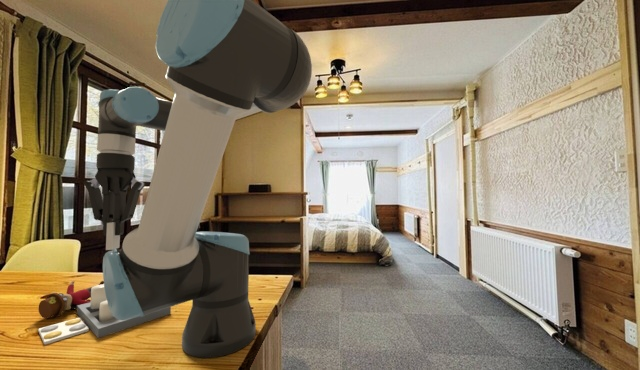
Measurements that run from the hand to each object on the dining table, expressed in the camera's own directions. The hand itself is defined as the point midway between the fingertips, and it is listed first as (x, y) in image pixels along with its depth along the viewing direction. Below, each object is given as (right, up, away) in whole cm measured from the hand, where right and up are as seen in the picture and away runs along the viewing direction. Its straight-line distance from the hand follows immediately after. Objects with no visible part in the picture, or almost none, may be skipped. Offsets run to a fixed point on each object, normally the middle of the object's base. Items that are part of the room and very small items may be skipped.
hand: (112, 248), depth 64 cm
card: (-8, -18, -4) cm, 20 cm away
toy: (-16, -19, +8) cm, 26 cm away
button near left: (0, -18, -1) cm, 18 cm away
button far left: (-7, -16, +4) cm, 18 cm away
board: (-1, -18, +5) cm, 19 cm away
